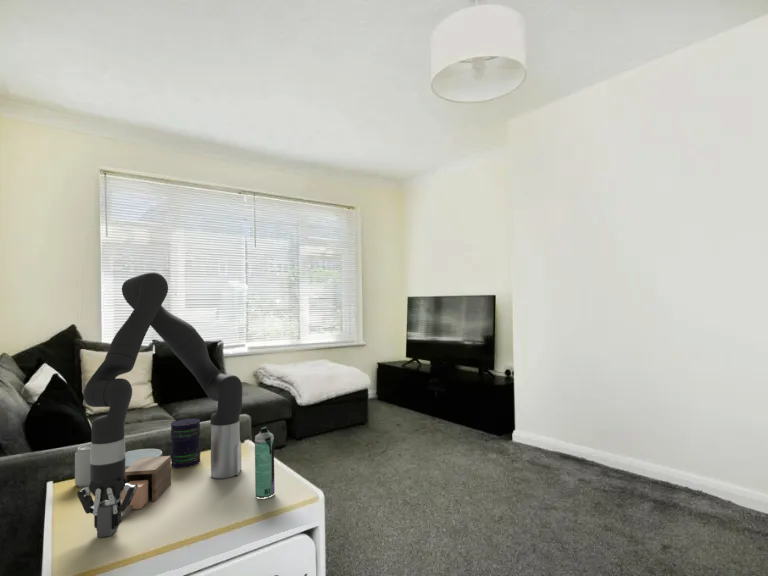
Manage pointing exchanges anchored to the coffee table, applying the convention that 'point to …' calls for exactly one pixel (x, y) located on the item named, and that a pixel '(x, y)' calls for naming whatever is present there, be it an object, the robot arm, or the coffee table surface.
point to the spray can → (264, 464)
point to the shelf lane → (151, 473)
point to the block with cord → (136, 503)
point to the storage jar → (185, 443)
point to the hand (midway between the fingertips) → (107, 527)
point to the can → (82, 466)
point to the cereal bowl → (140, 455)
